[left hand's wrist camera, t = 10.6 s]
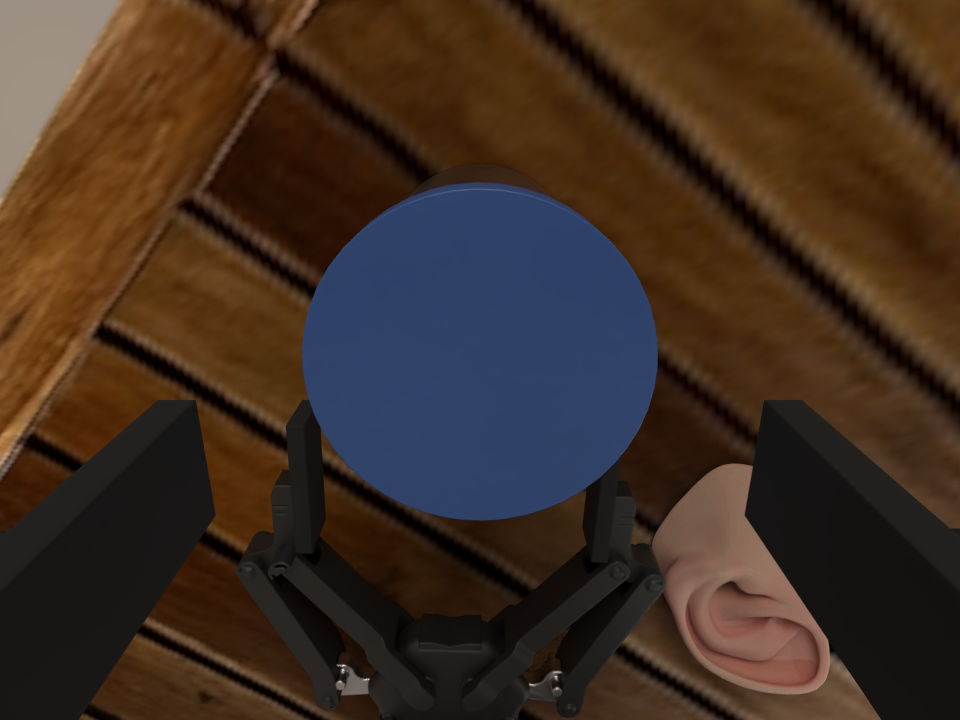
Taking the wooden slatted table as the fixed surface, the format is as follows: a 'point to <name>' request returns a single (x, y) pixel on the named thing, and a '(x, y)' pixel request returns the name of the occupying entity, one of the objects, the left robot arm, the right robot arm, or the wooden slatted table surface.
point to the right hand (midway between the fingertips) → (456, 416)
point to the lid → (479, 352)
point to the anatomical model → (736, 592)
